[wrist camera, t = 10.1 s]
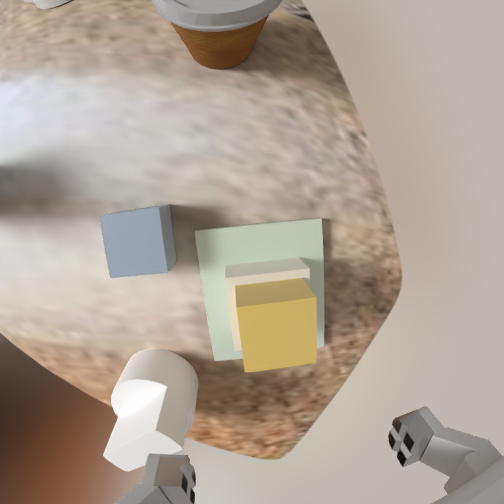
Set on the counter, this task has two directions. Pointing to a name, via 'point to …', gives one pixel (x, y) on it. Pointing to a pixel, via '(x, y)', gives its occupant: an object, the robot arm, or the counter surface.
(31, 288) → the counter surface
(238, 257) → the plate
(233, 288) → the base brick
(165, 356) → the cylinder with rectangular tab
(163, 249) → the slate brick
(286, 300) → the mustard brick
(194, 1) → the disposable coffee cup
